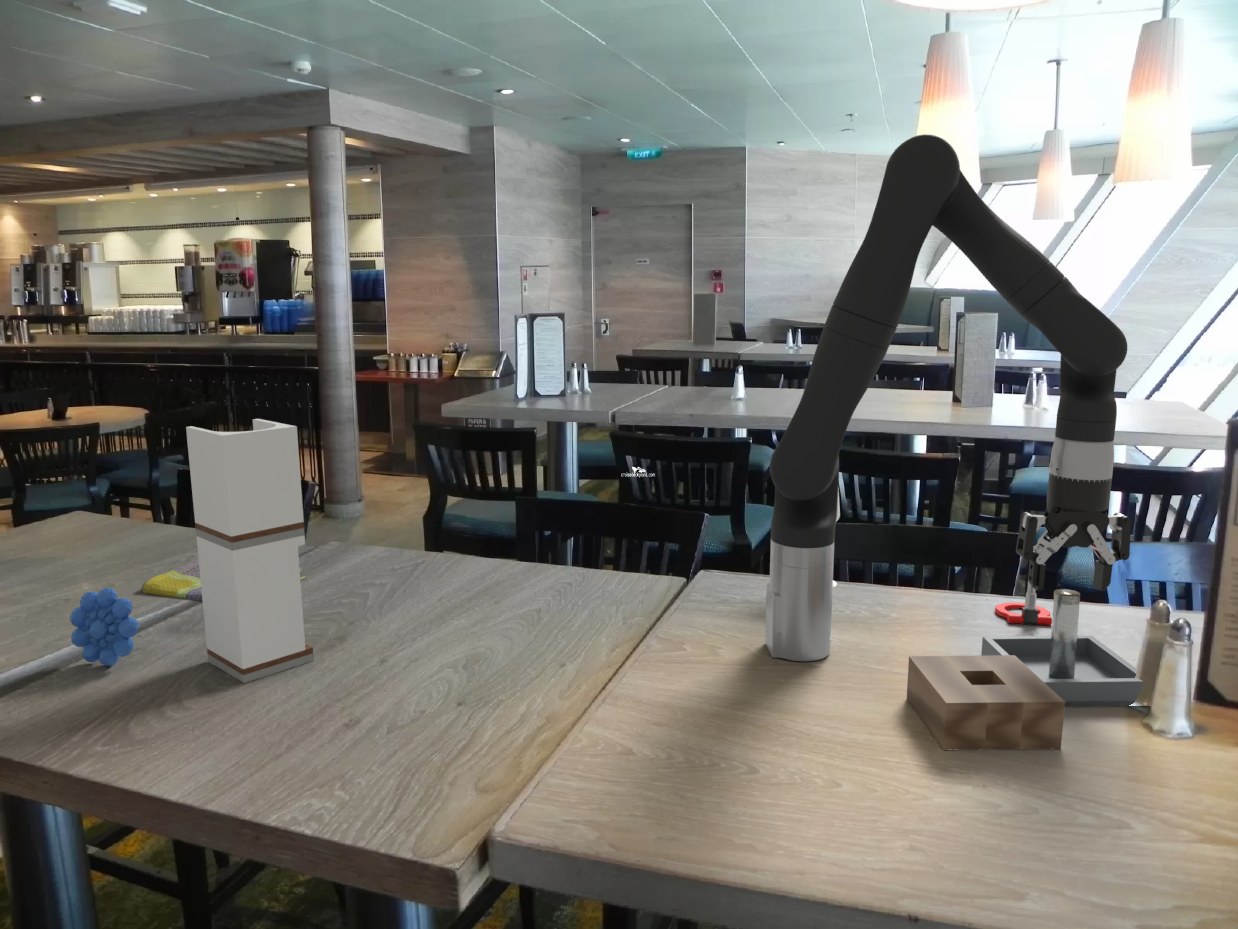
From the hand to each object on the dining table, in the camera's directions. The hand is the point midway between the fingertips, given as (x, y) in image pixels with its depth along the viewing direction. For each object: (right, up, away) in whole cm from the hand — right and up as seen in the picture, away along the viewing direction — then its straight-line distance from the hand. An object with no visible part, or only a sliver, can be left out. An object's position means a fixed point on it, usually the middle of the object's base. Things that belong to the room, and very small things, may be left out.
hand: (1068, 588), depth 128 cm
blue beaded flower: (-135, -13, +11) cm, 136 cm away
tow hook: (+6, -8, +28) cm, 30 cm away
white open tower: (-114, -12, +11) cm, 115 cm away
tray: (0, -13, +3) cm, 13 cm away
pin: (0, -12, +2) cm, 13 cm away
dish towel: (-134, -6, +47) cm, 142 cm away
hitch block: (-16, -16, -9) cm, 24 cm away
